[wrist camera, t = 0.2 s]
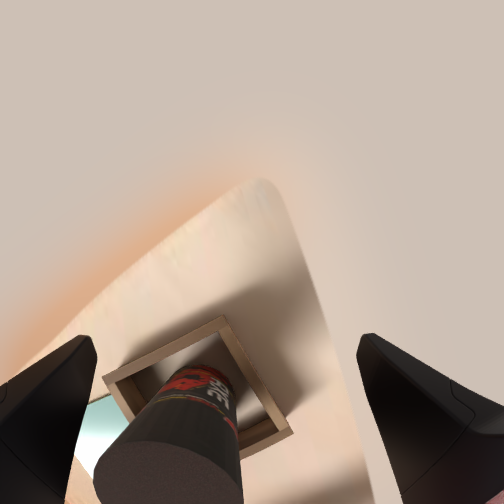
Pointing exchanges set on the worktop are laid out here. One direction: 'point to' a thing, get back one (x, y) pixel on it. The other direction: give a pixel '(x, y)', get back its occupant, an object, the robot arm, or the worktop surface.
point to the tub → (277, 423)
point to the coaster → (99, 431)
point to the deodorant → (177, 446)
